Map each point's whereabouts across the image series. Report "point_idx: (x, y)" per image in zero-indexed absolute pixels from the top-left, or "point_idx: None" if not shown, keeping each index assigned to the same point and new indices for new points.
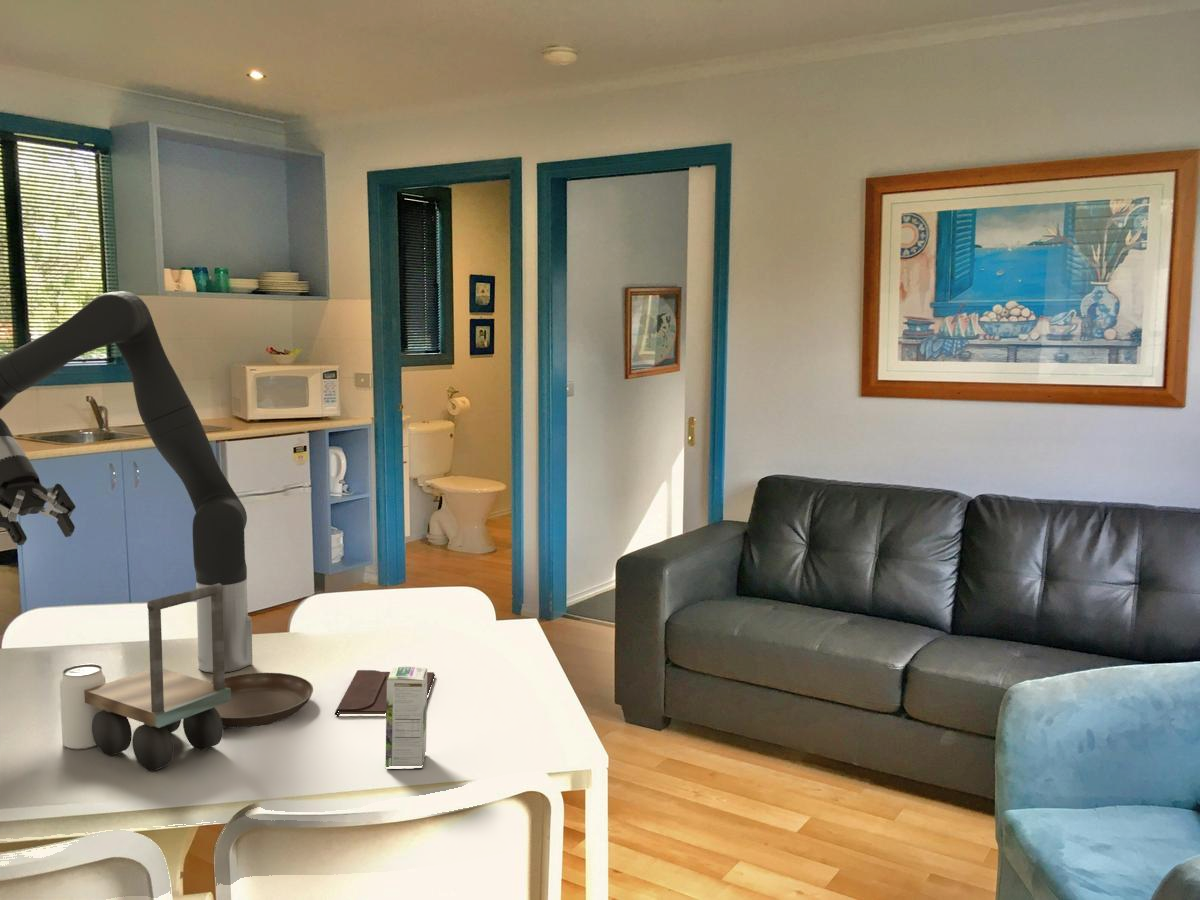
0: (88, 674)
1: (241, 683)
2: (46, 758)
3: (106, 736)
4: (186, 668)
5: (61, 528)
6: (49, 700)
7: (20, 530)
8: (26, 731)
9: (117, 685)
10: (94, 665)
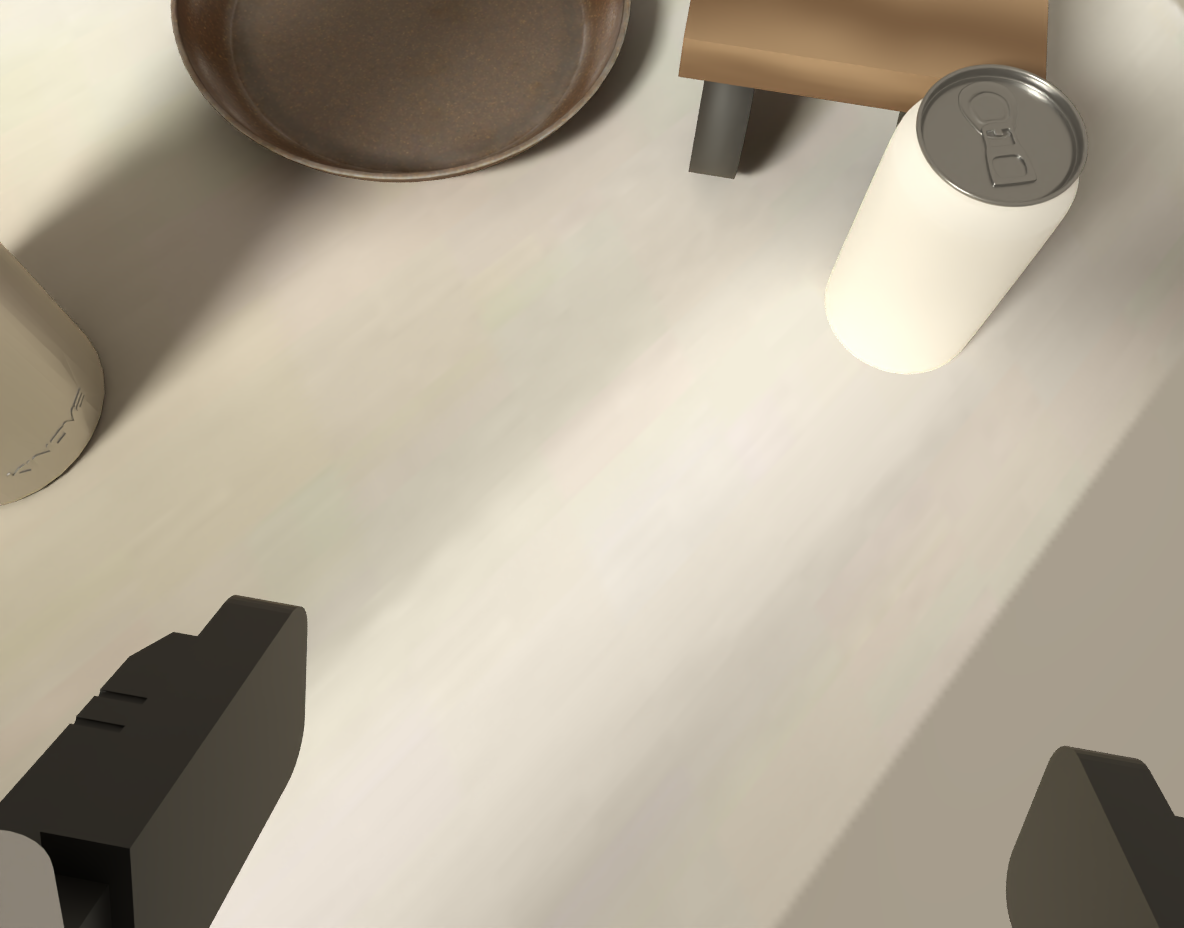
0: (1026, 71)
1: (259, 132)
2: (1054, 323)
3: None
4: (70, 533)
5: (230, 869)
6: (651, 793)
7: (1176, 861)
8: (939, 582)
9: (934, 26)
10: (921, 141)
